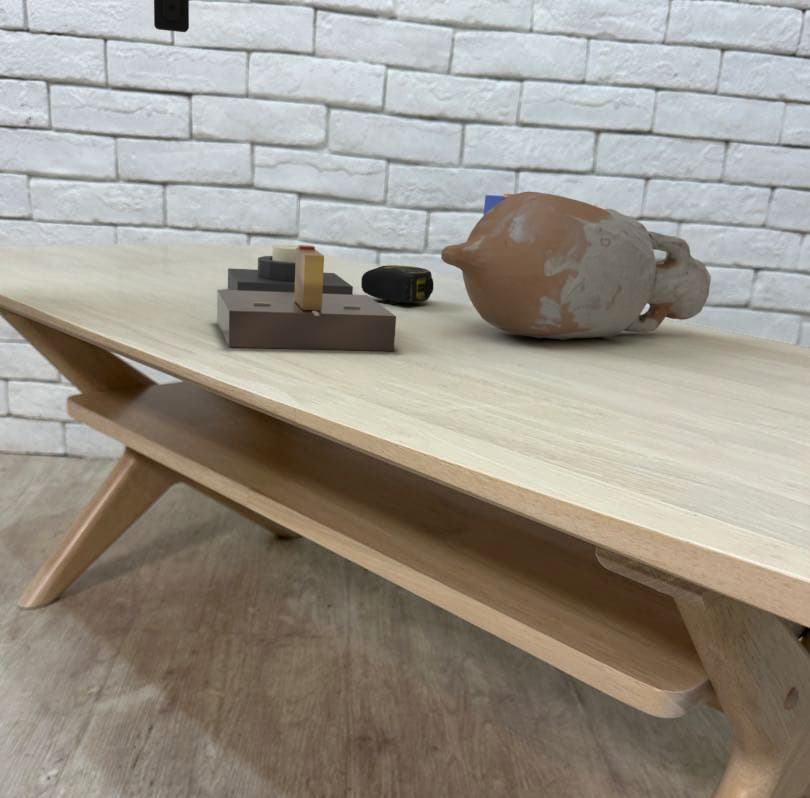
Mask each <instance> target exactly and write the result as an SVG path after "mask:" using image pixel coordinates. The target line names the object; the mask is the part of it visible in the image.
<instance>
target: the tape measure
mask: <svg viewBox="0 0 810 798" xmlns="http://www.w3.org/2000/svg"><path fill="white" fill-rule="evenodd" d="M360 283H361V284H360V285H361V286H360V287H361V289H362V291H363V293H365V295H367V296H371V297H374V298H377V299H380V300H383V301H385V302H386V304H390V305H394V304H395V305H396V304H397V303H402V304H412V303H423V302H426V301H428V300H429V299H430V297H431V295H432V293H433V292H434V279H433V277H432V272H431V271H430V270H429V269H427V268H424V267H418V266H411V265H394V264H393V265H390V264H389V265H381V266H378V267H376V268H373V269H370V270H367V271H365V272H364V273H363V275H362V276H361V282H360Z"/></svg>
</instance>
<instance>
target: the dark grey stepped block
mask: <svg viewBox="0 0 810 798" xmlns="http://www.w3.org/2000/svg"><path fill="white" fill-rule="evenodd" d="M272 256H273V255H263V256H260V257H258V258H257V269H254V268H253V269H248V268H230V267H229V268H228V269H227V290H241V291H267V292H293V293H295V263H292V262H281V261H274V260H272ZM353 292H354V287H353V285H351V284H350V283H349V282H348V281H346V280H344V279H343V278H342V277H340V276H339V275H338V274H336V273H335V272H323V293H322V294H346V295H354V294H353Z"/></svg>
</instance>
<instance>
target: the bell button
mask: <svg viewBox="0 0 810 798" xmlns="http://www.w3.org/2000/svg"><path fill="white" fill-rule="evenodd" d="M296 248H298V245H295V244H274V245H272V255H271V256H272V260H274V261H281V262H292V263H296Z"/></svg>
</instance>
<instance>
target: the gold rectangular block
mask: <svg viewBox="0 0 810 798" xmlns="http://www.w3.org/2000/svg"><path fill="white" fill-rule="evenodd" d="M297 246H298V248H296V263H295V293H294V300H295V301H296V303H297V304H298V305H299V306H300V307H301V308H302V309H303V310H312V311H321V310H322V293H323V273H324V270H325V269H324V268H325V267H324V266H325V255H324V254H322V253H321V252H319V251H318V250H317V249H316V246H314V245H309V244H308V245H307V244H306V245H305V244H298V245H297Z"/></svg>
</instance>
